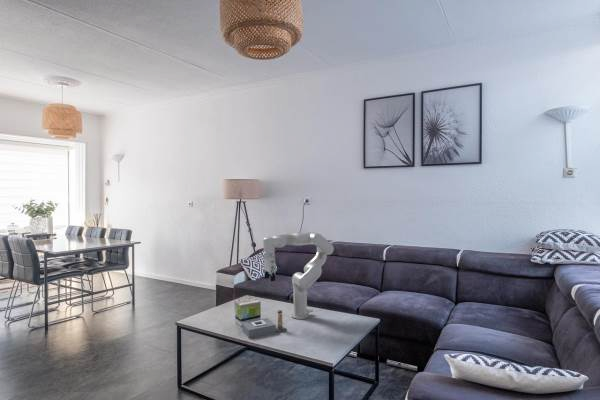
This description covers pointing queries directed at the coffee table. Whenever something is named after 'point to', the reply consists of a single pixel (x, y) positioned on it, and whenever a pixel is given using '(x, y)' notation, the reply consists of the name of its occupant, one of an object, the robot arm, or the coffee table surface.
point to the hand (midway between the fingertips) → (269, 279)
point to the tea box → (247, 311)
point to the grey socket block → (258, 327)
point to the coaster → (281, 330)
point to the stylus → (280, 320)
